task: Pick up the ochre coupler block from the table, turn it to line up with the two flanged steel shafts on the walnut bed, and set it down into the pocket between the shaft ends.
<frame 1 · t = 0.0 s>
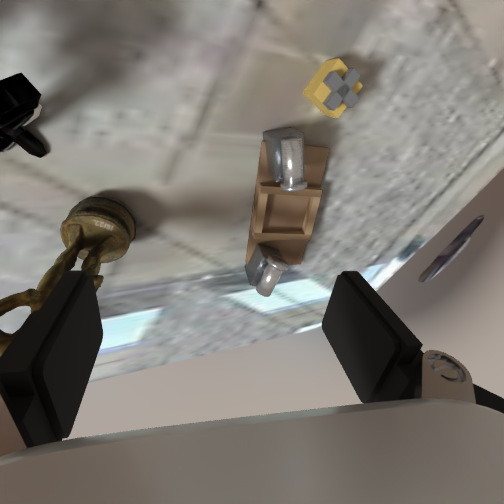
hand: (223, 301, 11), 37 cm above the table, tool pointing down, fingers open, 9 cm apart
shaft 2: (278, 152, 45), resting on bed
shaft 1: (261, 254, 54), resting on bed
bed: (282, 209, 50), on the table
coupler: (325, 89, 42), on the table
statue: (102, 222, 46), on the table
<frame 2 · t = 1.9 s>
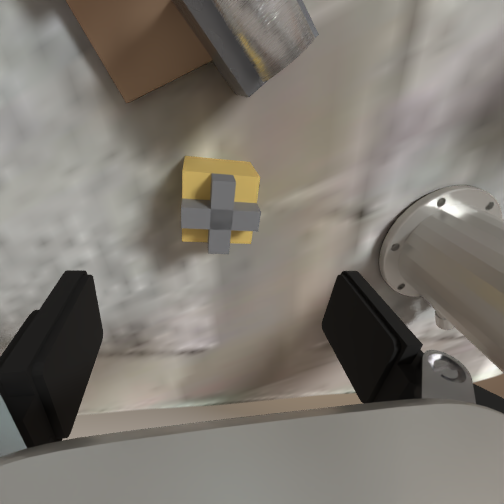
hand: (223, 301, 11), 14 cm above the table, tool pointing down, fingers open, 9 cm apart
shaft 2: (227, 18, 18), resting on bed
coupler: (216, 190, 23), on the table
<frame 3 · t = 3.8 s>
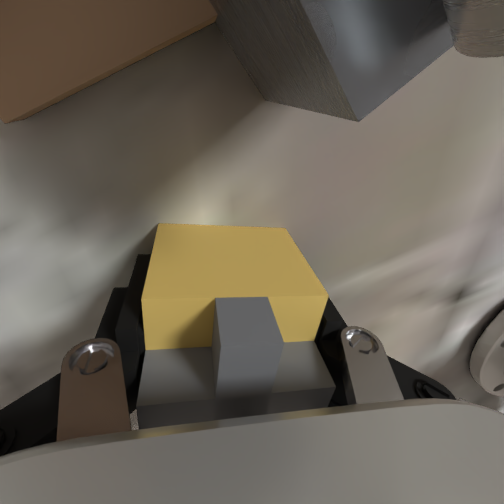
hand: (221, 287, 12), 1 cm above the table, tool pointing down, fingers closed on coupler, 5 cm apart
coupler: (220, 277, 12), on the table, touching gripper
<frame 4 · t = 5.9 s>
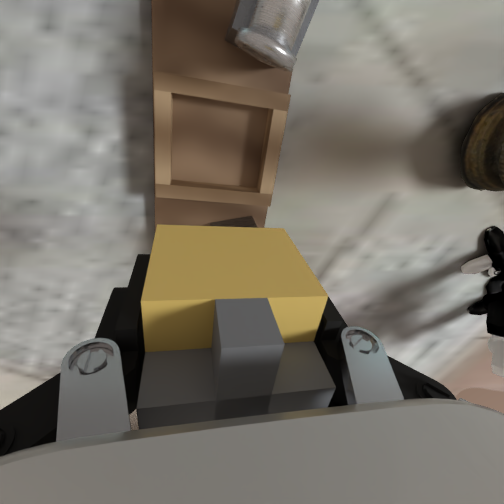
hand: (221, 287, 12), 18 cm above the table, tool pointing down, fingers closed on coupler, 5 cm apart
shaft 2: (233, 236, 31), resting on bed
shaft 1: (260, 20, 22), resting on bed
robot toy: (477, 283, 42), on the table
bed: (217, 142, 26), on the table
coupler: (219, 278, 12), point 17 cm above the table, touching gripper
statue: (494, 139, 31), on the table
when the fingers open (4 cm above the table, at t = 8.4 s): coupler drops 2 cm, resting on bed.
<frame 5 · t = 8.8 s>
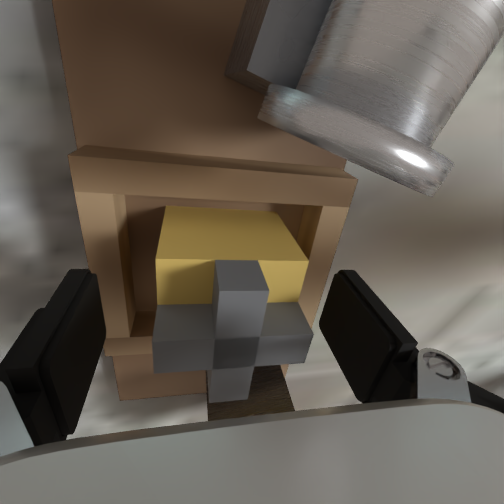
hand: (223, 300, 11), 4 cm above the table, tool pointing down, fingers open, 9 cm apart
shaft 2: (242, 362, 20), resting on bed
shaft 1: (297, 30, 11), resting on bed
bed: (215, 245, 15), on the table
coupler: (219, 255, 14), point 1 cm above the table, touching bed
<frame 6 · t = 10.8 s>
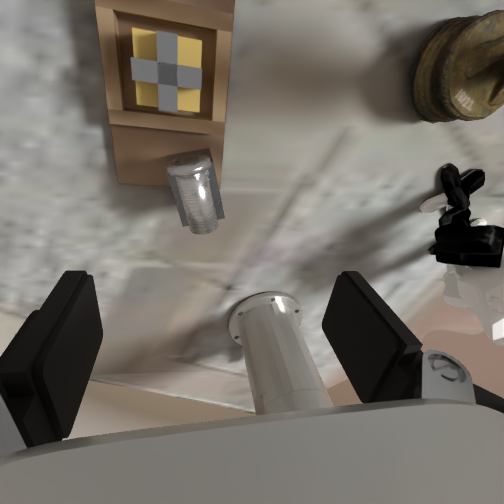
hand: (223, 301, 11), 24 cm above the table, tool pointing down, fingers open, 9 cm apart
shaft 2: (194, 171, 32), resting on bed
robot toy: (436, 223, 44), on the table
bed: (169, 70, 27), on the table
coupler: (170, 71, 26), point 1 cm above the table, touching bed
statue: (445, 70, 32), on the table
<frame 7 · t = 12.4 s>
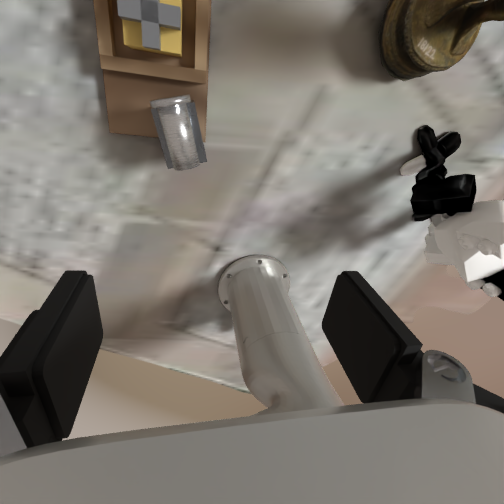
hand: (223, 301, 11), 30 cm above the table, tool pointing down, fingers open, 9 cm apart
shaft 2: (180, 124, 35), resting on bed
robot toy: (418, 188, 46), on the table
bed: (156, 24, 30), on the table
coupler: (156, 23, 29), point 1 cm above the table, touching bed
statue: (413, 31, 34), on the table
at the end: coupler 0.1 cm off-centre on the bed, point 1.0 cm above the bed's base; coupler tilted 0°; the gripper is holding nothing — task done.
